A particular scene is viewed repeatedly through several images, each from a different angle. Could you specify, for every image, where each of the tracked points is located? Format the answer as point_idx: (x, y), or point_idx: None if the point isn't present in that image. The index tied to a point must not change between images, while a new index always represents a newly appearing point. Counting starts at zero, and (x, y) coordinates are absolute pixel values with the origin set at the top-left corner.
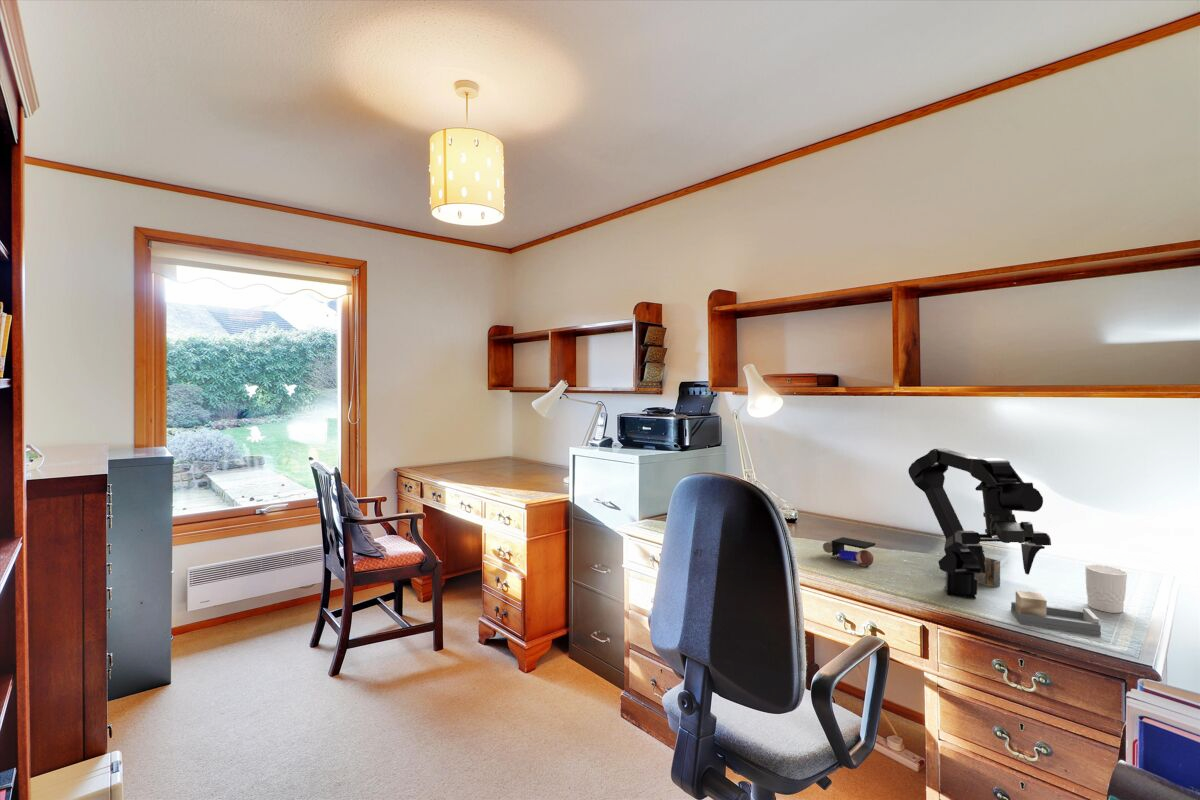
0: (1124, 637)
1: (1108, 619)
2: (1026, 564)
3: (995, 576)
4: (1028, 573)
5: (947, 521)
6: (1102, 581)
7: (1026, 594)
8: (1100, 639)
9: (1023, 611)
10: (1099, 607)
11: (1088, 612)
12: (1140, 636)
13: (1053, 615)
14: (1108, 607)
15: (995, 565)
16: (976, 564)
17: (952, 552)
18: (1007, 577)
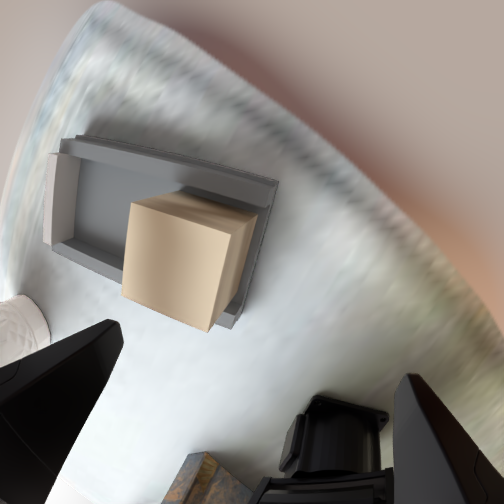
0: (47, 143)
1: (36, 258)
2: (75, 368)
3: (191, 474)
4: (107, 320)
5: None
6: None
7: (182, 280)
8: (96, 106)
9: (240, 215)
10: (34, 311)
11: (50, 210)
12: (23, 162)
13: None
14: (22, 302)
15: (179, 498)
16: (298, 500)
17: None
18: (154, 476)
